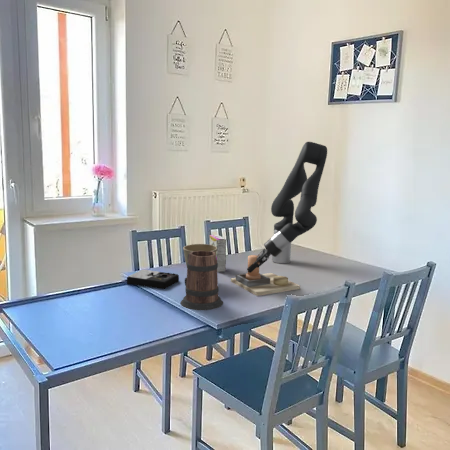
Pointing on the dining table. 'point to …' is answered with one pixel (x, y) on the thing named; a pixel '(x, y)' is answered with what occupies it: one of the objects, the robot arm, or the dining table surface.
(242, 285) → the carrier plate
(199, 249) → the plant pot
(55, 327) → the dining table surface
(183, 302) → the tankard
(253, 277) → the orange flanged cylinder
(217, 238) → the candy bar box
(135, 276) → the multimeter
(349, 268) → the dining table surface
